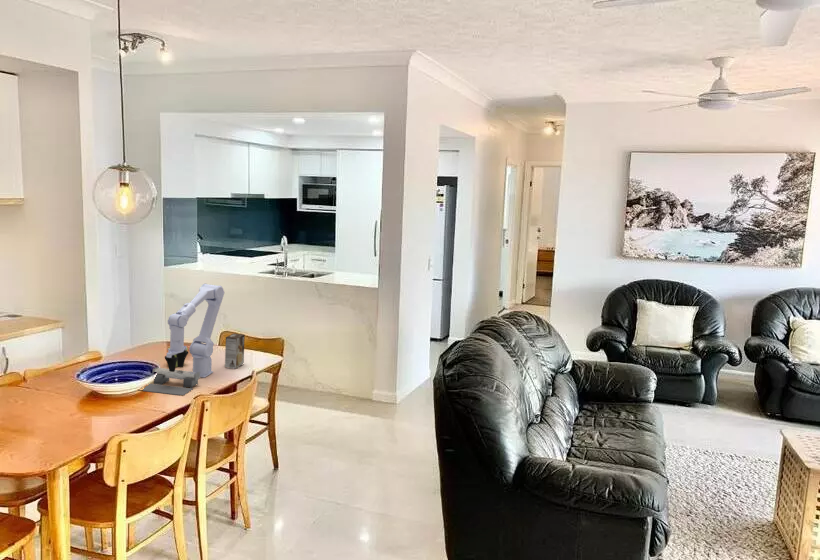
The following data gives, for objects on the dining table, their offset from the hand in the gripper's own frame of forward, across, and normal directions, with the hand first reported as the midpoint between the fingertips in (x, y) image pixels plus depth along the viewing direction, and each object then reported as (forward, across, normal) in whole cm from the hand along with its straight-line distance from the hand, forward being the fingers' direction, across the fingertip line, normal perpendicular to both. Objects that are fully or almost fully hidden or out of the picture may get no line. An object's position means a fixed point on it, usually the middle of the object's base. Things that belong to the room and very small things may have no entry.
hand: (176, 369), depth 275 cm
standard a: (+7, 0, +7) cm, 10 cm away
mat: (+7, +9, 0) cm, 11 cm away
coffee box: (+7, -35, +13) cm, 38 cm away
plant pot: (+7, -26, -13) cm, 30 cm away
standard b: (+7, 0, -7) cm, 10 cm away
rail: (+4, 0, 0) cm, 4 cm away
